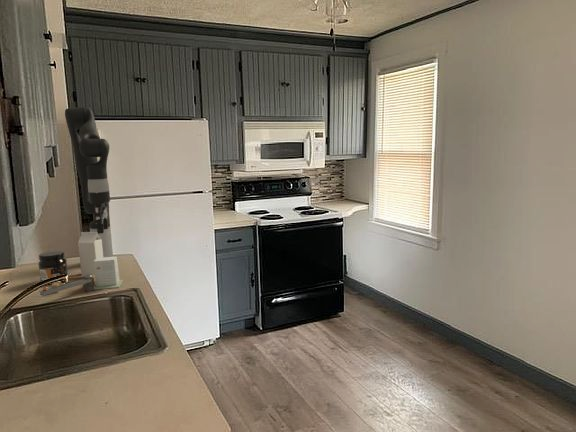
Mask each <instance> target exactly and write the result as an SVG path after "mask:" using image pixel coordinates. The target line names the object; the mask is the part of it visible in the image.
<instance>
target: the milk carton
mask: <svg viewBox="0 0 576 432" xmlns="http://www.w3.org/2000/svg"><path fill="white" fill-rule="evenodd" d="M77 245H78V254H79V255H78V256H79V263H80V264H79V265H80V271H81V274H80V276H86V275H95V272H94V264H93V261H94V260H95V259H96V258H103V248H102V239H101V238H100V237H99V235H98V234H97V232H90V231H81V232H80V237H79V240H78V242H77Z"/></svg>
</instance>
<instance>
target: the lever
mask: <svg viewBox="0 0 576 432" xmlns="http://www.w3.org/2000/svg"><path fill="white" fill-rule="evenodd" d="M91 278H93V276H92V275H86V276H85V279H82V280H78V281H75V282H71V283H67V284H64V285H60V286H57V287H53V288H51V287H50V288H49V287H48V286H42V290H40V291H39V293H40V296H43V297H44V296H47V295H50V294H55V293H54V292H58V291H59V292H61V291H65V290H69V289H71V288H75V287H78V286H81V285H85V283H89V282H91V280H90V279H91ZM59 292H58V293H59Z"/></svg>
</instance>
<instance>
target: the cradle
mask: <svg viewBox="0 0 576 432" xmlns="http://www.w3.org/2000/svg"><path fill="white" fill-rule="evenodd" d="M92 276H93V278H91V279H90V280H91V282H89V283H85V284H84V290H85V291H87V293H88V292H93V291H94V289H93V287H94V285H95V284H96V281H95V275H92ZM82 279H85V276H82V275H78V276H68V282H67V283H71V282H75V281H78V280H82ZM67 283H65V284H67ZM50 285H51V286H50V288H53V287H57V286H60V285H64V283H60V282H55V283H53V284H50ZM58 293H60V291H58V292H54V293H53V294H58Z"/></svg>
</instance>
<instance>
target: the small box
mask: <svg viewBox="0 0 576 432" xmlns="http://www.w3.org/2000/svg"><path fill="white" fill-rule="evenodd" d="M93 264H94V272H95V281H96V286H108V285H117V283H118V282H119V280H120V273H119V265H118V256H113V257H104V258H96V259H95V260H94V261H93Z"/></svg>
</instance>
